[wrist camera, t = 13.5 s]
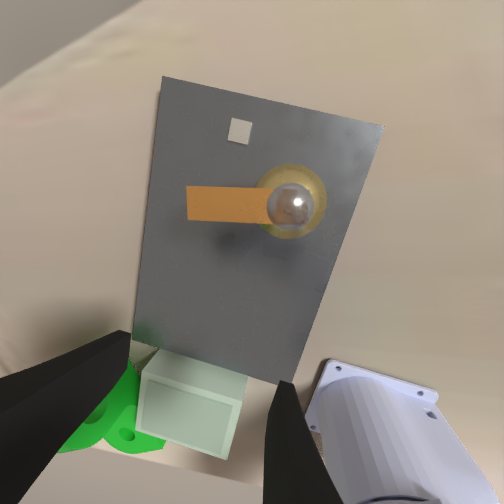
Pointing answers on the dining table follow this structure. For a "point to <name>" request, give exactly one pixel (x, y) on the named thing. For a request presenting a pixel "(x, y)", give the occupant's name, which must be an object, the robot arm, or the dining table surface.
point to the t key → (252, 205)
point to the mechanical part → (115, 421)
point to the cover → (190, 402)
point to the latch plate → (243, 227)
